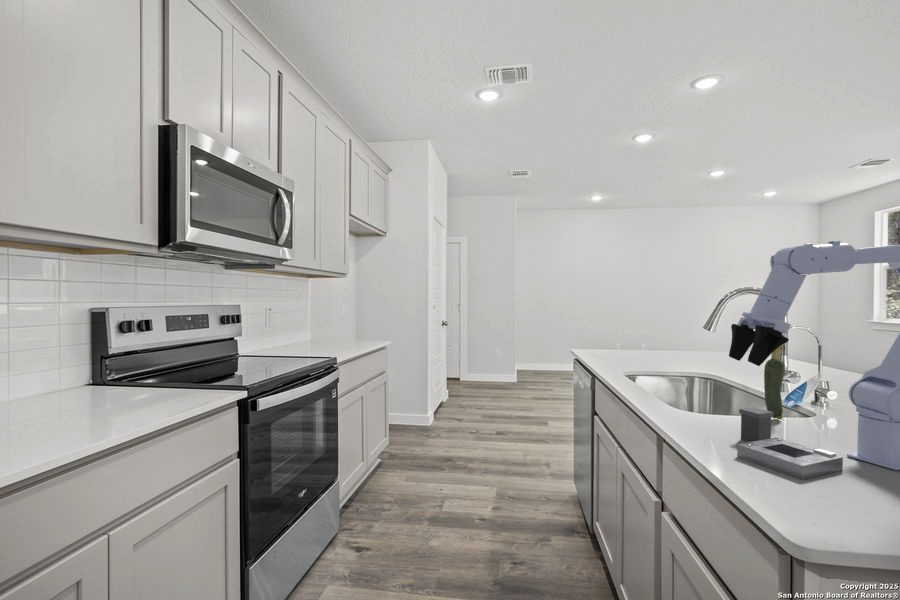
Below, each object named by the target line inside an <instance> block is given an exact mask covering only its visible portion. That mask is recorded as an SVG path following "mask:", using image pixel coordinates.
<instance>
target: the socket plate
mask: <svg viewBox="0 0 900 600" xmlns="http://www.w3.org/2000/svg"><path fill="white" fill-rule="evenodd" d="M736 455H737V458H740V459H743V460H747V461H749V462H752V463H755V464H757V465H761V466H764V467H766V468H769V469H772V470H774V471H777V472H780V473H782V474H785V475H788V476H791V477H794V478H797V479H800V480H803V481H804V480H806V479H811V478H815V477H820V476H824V474H825V475H827V474H828V473H829V474H832V472H833V473H837V472H841V471H843V464H844V463H843V462H844V460H843V458H844V457H843V456H840V455H838V454H837V453H836V452H832V451H830V450H826V449H822V448H813V447H810V446H808V445H807V446H806V445H802V444H800V443H796V442H793V441H790V440H786V439H782V438H779V437H772V438H770V439H765V440H759V441H753V442H743V443H738V444H737V453H736ZM840 470H841V471H840ZM836 471H837V472H836Z"/></svg>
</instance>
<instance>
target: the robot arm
mask: <svg viewBox="0 0 900 600" xmlns="http://www.w3.org/2000/svg"><path fill="white" fill-rule="evenodd" d="M769 263H770V264H769V265H770V269H771V270H770V272H769V274H768V276H767V278H766V280H765V282H764V284H763V286H762V288H761V290H760V292H759V294H758V295H757V298H756V299H755V301H754V304H753V305H752V307H751V310H750V312H742V314H741V316H742V317H740V318H739V320H738V321H737V322H738V323H737V324H736V323H731V326H730V328H731V343H730V348H729V352H728V357H729V358H731V359H734V360H736V361H738V362H740V361H741V359H743V358H744V356H746V353H747V352H748V350H749V348H751V349H750V352H749V355H748V357H747V362H749V363H751V364H753V365H755V366H757V367H760V366H761V365H762V364H763V363H764V362H765V361H767V359H768V358H769V356H771V355H772V352H774V351H775V350H776V349H777V348H778V347H780V346H783V345H785V344H786V343H788V342H789V340H790V338H788V337H786V336H785V335H787V334H788V333H789V331H790V330H789V329H790V328H791V326H792V324H791V323H788V322H786V321H785V318H786V316H787V314H788V312H789V311H790V308H791V307H792V304H793V302H794V300H795V299H796V298H797V297H796V296H797V295H798V292H799V291H800V289H801V288H802V285H803V284H804V282H805V279H806V278H807V276H808V275H809V276H810V275H812V274H826V273H827V274H828V273H844V272H849V271H850V270H852V269H853V268H854V267H855V265H865V264H867V265H869V264H888V268H890V269H891V270H892V269H893V270H894V271H895V272H896V273H897V275H898V276H899V277H900V244H895V245H892V244H891V245H883V246H873V247H862V248H855V247H854V246H852V245H851V244H850V243H846V242H842V243H841V240H830V241H828V243H826V244H814V245H813V243H811V242H810V243H809V242H808V243H804V244H803V245H797V246H790V247H784V248H781V249H780V250H777V252H776V253H775V254H774V255H771V256H770V261H769ZM783 334H784V335H783ZM848 399H849V400H850V402H851V404H852V405H854V407H855V411H856V412H857V413H858V415H857V446H856V447H857V450H856V451H853V452H849V453H846V456H847V457H850V458H852V459H855V460H856V459H857V460H859V461H863V462H867V463H870V464H873V465H877V466H880V467H884V468H887V469H890V470H894V471H899V470H900V332H899V334H898V335H897V336H896V338H895V340H894V342H893V344H892V345H891V347H890V348H889V350H888V352H887V353H886V355H885V357H884V359H883V360H882V361H881V364H880V365H878V366H876V367H873V368H871V369H869V370H866V371H864V373H863V375H862V376H861V378H860V379H858V380H857V381H855V382H853V384H852V385H850V388H849V391H848Z"/></svg>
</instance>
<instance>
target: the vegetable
mask: <svg viewBox="0 0 900 600" xmlns="http://www.w3.org/2000/svg"><path fill="white" fill-rule="evenodd" d="M783 350H784V346H783V345H781V346H780V347H778V348H777V349H776V350H775V351H774V352H772V353H771V354H770V356H771V357H770V359H768V360H766V363H765V365H764V369H763V372H764V374H763V384H764V402H765V405H766V411H770V412H774V415H773V417H772V418H773V419H774V418H777V419H780V420H782V419H783V413H784V411H783V402H782V395H781V393H782V392H781V390H782V389H781V388H782V384H783V380H784V377H785V371H786V366H785V363H784V362H783V361H782V360H781V359H780V358H781V357H782V355H781V354H782V351H783Z"/></svg>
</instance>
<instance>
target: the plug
mask: <svg viewBox="0 0 900 600" xmlns="http://www.w3.org/2000/svg"><path fill="white" fill-rule="evenodd" d="M738 413H739V414H741V416H740V420H741V421H740V423H741V424H740V440H741V441H745V442H746V443H748V442H753V441H759V440H765V439H770V438H771V435H772V418H773V415H774V412H770V411H767V409H766V410H765V409H761V408H757V407H753V406H751V407H744V408H739V409H738Z"/></svg>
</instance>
